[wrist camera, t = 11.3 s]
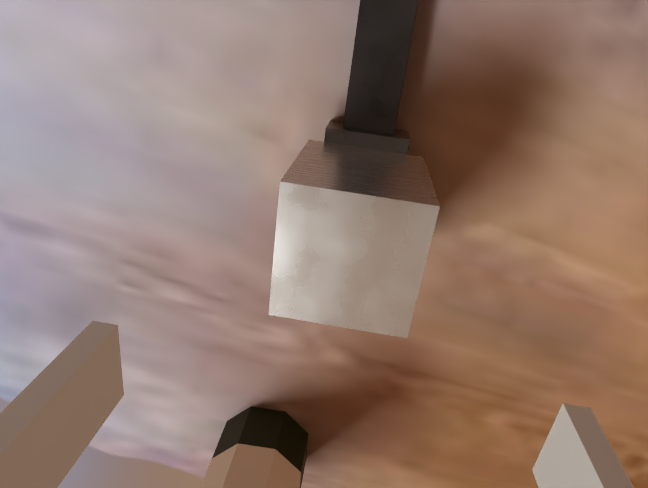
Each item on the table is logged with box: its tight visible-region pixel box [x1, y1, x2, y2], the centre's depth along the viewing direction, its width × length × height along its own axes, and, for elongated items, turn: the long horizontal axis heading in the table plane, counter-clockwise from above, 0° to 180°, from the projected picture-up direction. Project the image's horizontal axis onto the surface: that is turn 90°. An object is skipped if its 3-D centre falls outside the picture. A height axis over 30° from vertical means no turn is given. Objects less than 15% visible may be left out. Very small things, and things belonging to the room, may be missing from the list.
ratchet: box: [324, 0, 418, 154], centre depth 27 cm, size 19×5×6 cm, turn 173°
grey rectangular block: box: [269, 140, 440, 338], centre depth 26 cm, size 7×7×9 cm
